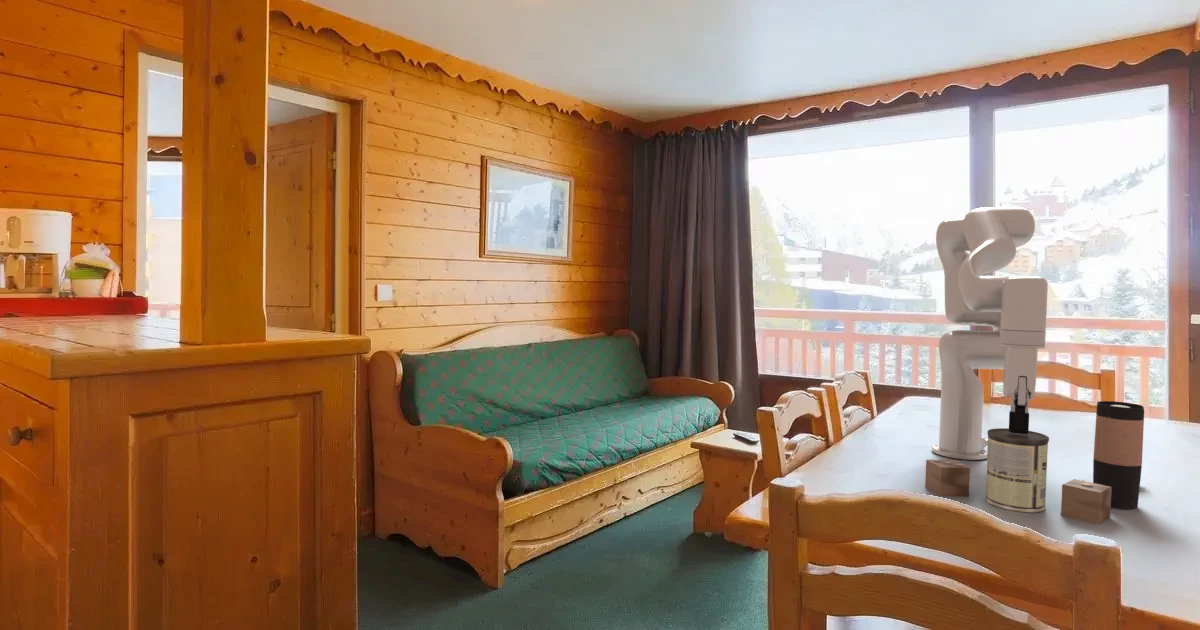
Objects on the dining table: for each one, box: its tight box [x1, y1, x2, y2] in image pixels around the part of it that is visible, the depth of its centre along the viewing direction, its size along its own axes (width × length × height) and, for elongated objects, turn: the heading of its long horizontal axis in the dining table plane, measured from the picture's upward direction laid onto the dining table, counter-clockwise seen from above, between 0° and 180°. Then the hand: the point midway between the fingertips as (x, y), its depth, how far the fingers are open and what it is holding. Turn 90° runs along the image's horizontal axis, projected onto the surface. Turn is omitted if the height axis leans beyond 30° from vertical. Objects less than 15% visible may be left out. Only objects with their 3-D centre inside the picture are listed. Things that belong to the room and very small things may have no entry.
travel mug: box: [1092, 400, 1145, 511], centre depth 134 cm, size 8×8×20 cm
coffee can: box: [984, 427, 1050, 513], centre depth 133 cm, size 10×10×14 cm
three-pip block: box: [924, 459, 971, 497], centre depth 141 cm, size 6×6×6 cm
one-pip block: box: [1060, 478, 1112, 526], centre depth 127 cm, size 6×6×6 cm
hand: (1018, 432), depth 132 cm, fingers closed
